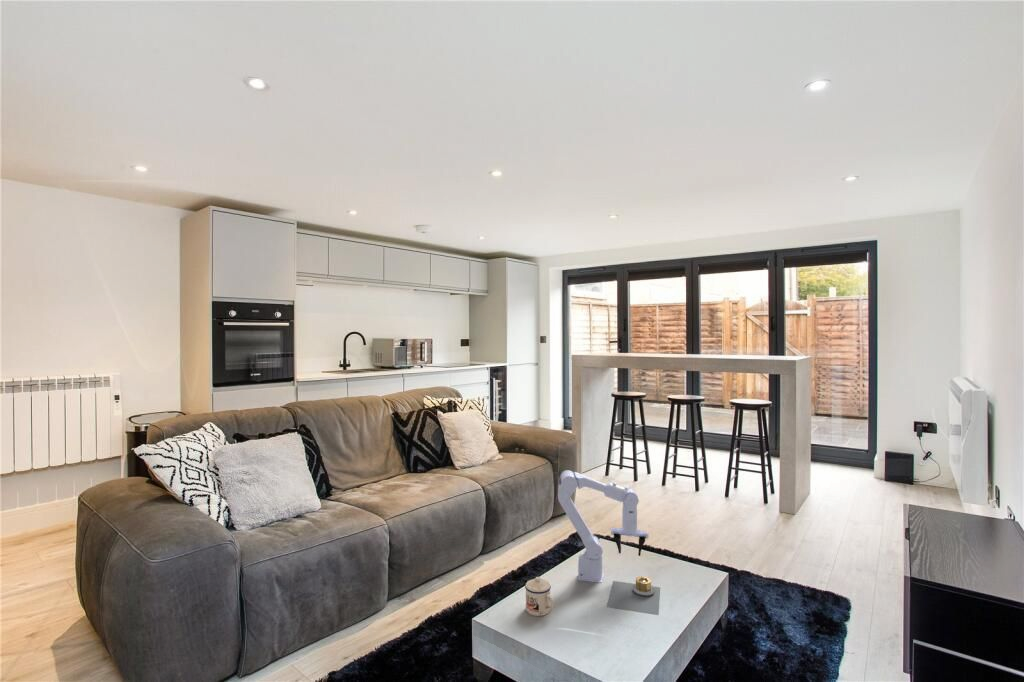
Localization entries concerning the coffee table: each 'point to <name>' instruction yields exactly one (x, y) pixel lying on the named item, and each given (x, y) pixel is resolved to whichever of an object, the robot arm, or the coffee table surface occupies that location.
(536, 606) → the teacup with lid
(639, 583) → the ring
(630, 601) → the bench mat
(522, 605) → the coffee table surface
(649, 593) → the metal peg stand
